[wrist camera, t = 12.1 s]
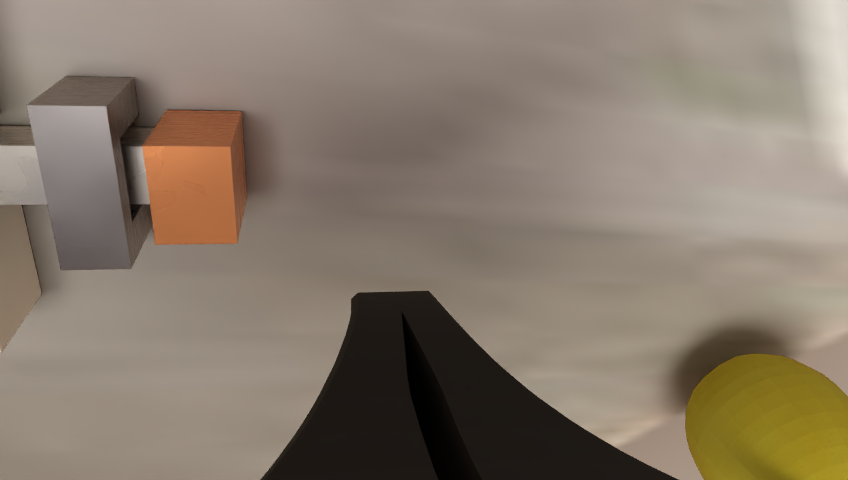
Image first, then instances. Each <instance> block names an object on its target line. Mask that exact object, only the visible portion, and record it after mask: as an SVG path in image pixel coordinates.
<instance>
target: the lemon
mask: <svg viewBox="0 0 848 480" xmlns="http://www.w3.org/2000/svg"><path fill="white" fill-rule="evenodd" d="M685 428H686V437H687V442H688V445H689V449H690V452H691V454H692V457H693V459H694V461H695V463H696V466H697V467H698V469H699V471H700V473H701V475H702V477H703V479H704V480H848V397H847V395H846V394H845V393H844V392H843V391H842V390H841V389H840V388H839V387H838V386H837V385H836V384H835V383H834V382H832V381H831V380H829V379H828V378H827V377H826V376H824V375H823V374H822V373H819V372H818V371H816V370H814V369H812V368H810V367H808V366H806V365H804V364H802V363H799V362H797V361H795V360H793V359H790V358H787V357H784V356H779V355H769V354H747V355H741V356H736V357H734V358H732V359H730V360H728V361H726V362H724V363H722V364H720V365H719V366H718V367H716V368H715V369H714V370H712V371H711V372H710V373H708V374H707V375H706V376H705V377H704V378H703V379H702V380H701V382H700V383H699V384H698V385H697V386H696V387H695V389H694V390H693V392H692V395H691V397H690V399H689V402H688V404H687V408H686V423H685Z"/></svg>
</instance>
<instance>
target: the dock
mask: <svg viewBox="0 0 848 480" xmlns="http://www.w3.org/2000/svg"><path fill="white" fill-rule="evenodd" d="M0 114H1V112H0ZM41 294H42V293H41V289H40V284H39V280H38V275H37V271H36V267H35V262H34V258H33V253H32V249H31V245H30V240H29V236H28V231H27V227H26V223H25V218H24V214H23V209H22V205H0V353H2V352H3V350H4V349H5V347H6V346H7V344H8V343H9V341H10V340H11V338H12V337H13V335H14V334H15V332H16V331H17V329H18V328H19V327H20V325H21V324H22V322H23V321H24V319H25V318H26V316H27V315H28V313H29V312H30V310H31V309H32V307H33V306H34V304H35V303H36V301H37V300H38V298H39V297H40V295H41Z"/></svg>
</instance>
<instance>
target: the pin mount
mask: <svg viewBox="0 0 848 480" xmlns="http://www.w3.org/2000/svg"><path fill="white" fill-rule="evenodd" d="M27 109H28V114H29V119H30V124H31V128H32V133H33V138H34V143H35V148H36V152H37V157H38V162H39V167H40V172H41V176H42V181H43V186H44V191H45V196H46V200H47V205H48V210H49V215H50V220H51V224H52V229H53V234H54V239H55V244H56V248H57V253H58V258H59V263H60V268H61V270H95V269H131V268H132V266H133V264H134V262H135V260H136V258H137V256H138V254H139V252H140V249H141V247H142V245H143V243H144V241H145V239H146V237H147V235H148V233H149V231H150V229H151V227H152V225H153V222H152V215H151V207H150V204H129V197H128V190H127V183H126V177H125V170H124V163H123V156H122V150H121V143H120V137H121V136H122V135H123V134H124V132H125V131H126V130H127V129H128V127H129V126H130V125H131V124H132V122H133V121H134V120H135V118H136V117H137V116H138V115H139V111H138V103H137V96H136V88H135V81H134V78H128V77H84V76H66V77H64V78H63V79H61V80H60V81H59V82H57V83H56V84H55V85H53V86H52V87H51V88H49V89H48V90H47V91H45V92H44V93H42V94H41V95H40V96H38V97H37V98H36V99H34V100H33V101H32V102H30V103H29V104H28V105H27Z"/></svg>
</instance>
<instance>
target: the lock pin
mask: <svg viewBox="0 0 848 480" xmlns="http://www.w3.org/2000/svg"><path fill="white" fill-rule="evenodd" d="M120 143H121V150H122V156H123V163H124V170H125V177H126V183H127V190H128V197H129V204H150V207H151V215H152V222H153V230H154V237H155V245H158V244H228V243H237V242H238V238H239V233H240V228H241V223H242V219H243V214H244V209H245V205H246V200H247V189H246V173H245V157H244V141H243V125H242V111H185V110H166V112H165V113H164V115H163V116H162V118H161V119H160V121H159V122H158V124H157V125H156V126H155V128H140V127H128V129H127V130H126V131H125V132H124V134H123V135H122V136H121V137H120ZM0 205H47V200H46V196H45V191H44V186H43V181H42V176H41V172H40V167H39V162H38V157H37V152H36V148H35V143H34V138H33V133H32V128H31V126H0Z"/></svg>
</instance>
